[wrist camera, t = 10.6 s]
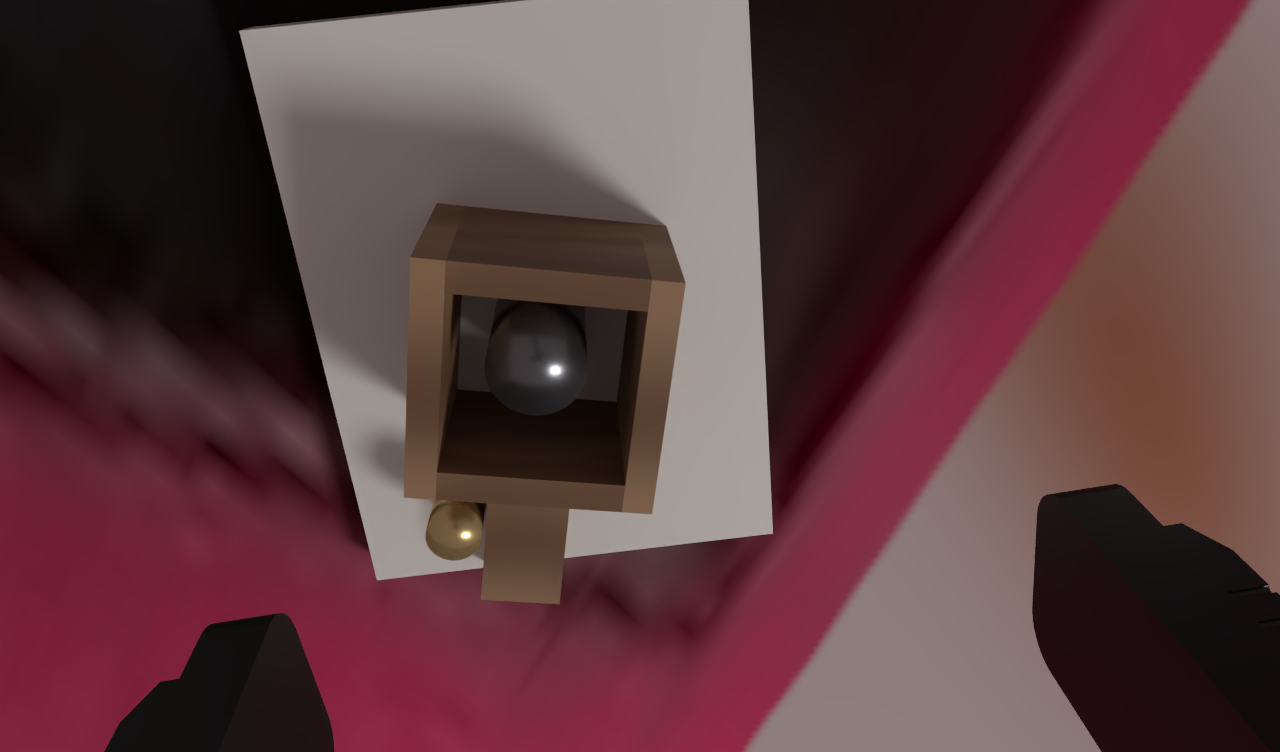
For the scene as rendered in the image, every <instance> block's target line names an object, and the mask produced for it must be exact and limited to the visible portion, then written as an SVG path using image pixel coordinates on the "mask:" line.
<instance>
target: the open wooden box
mask: <svg viewBox="0 0 1280 752" xmlns="http://www.w3.org/2000/svg"><path fill="white" fill-rule="evenodd" d="M685 285H686V282H685V279H684V276H683V273H682V271H681V268H680V265H679V262H678V259H677V256H676V253H675V250H674V247H673V244H672V241H671V238H670V235H669V232H668V229H667V226H661V225H651V224H641V223H631V222H621V221H611V220H601V219H591V218H581V217H570V216H560V215H550V214H540V213H530V212H520V211H510V210H500V209H490V208H480V207H470V206H460V205H450V204H440V203H437V204H436V206H435V208H434V210H433V212H432V214H431V216H430V218H429V220H428V222H427V224H426V226H425V228H424V230H423V232H422V234H421V236H420V238H419V240H418V242H417V244H416V246H415V248H414V250H413V252H412V255H411V257H410V280H409V318H408V356H407V394H406V431H405V469H404V498H415V499H430V500H445V501H460V502H475V503H487V518H486V533H485V549H484V564H483V579H482V594H481V600H495V601H513V602H531V603H549V604H559V603H560V593H561V584H562V574H563V565H564V555H565V546H566V536H567V527H568V517H569V509H579V510H594V511H609V512H624V513H639V514H652V512H653V505H654V498H655V491H656V484H657V477H658V471H659V464H660V457H661V450H662V443H663V436H664V429H665V422H666V416H667V409H668V402H669V395H670V388H671V381H672V374H673V367H674V361H675V354H676V347H677V340H678V333H679V326H680V319H681V312H682V306H683V299H684V292H685ZM462 295H467V296H478V297H489V298H500V299H511V300H522V301H533V302H545V303H556V304H567V305H578V306H589V307H600V308H611V309H622V310H628V313H627V321H626V329H625V337H624V345H623V354H622V362H621V370H620V378H619V386H618V395H617V402H610V401H598V400H585V399H575V400H574V401H573V402H572V403H571V404H570V405H568V406H567V407H565V408H564V409H562V410H560V411H557V412H555V413H552V414H547V415H539V416H535V415H526V414H522V413H518V412H516V411H513V410H511V409H509V408H508V407H506V406H505V405H503V404H502V403H501V402H500V401H499V400H498V399H497V398H496V397H495V396H494V395H493V393H492V392H485V391H472V390H459V389H457V382H458V362H459V342H460V321H461V301H462Z"/></svg>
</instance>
